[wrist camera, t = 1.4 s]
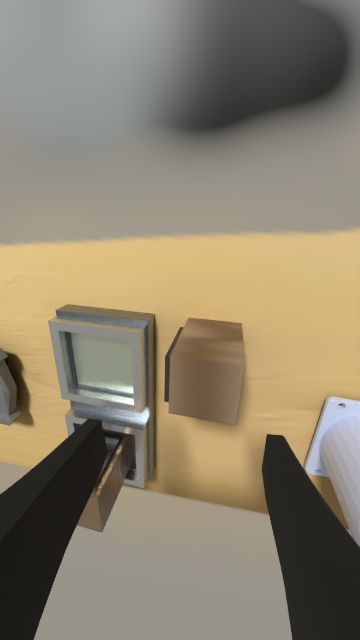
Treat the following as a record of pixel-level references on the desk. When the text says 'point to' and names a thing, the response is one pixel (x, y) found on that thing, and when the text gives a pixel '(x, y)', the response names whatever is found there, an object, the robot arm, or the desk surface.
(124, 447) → the grey block holder
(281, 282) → the desk surface
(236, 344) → the walnut block
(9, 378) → the graphics card
